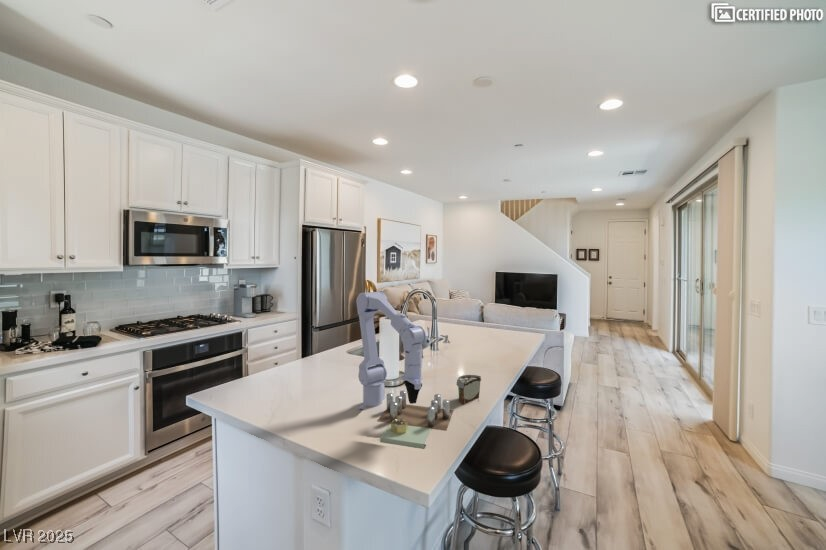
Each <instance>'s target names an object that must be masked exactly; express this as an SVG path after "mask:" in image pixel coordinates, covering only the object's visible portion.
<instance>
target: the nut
mask: <svg viewBox="0 0 826 550" xmlns="http://www.w3.org/2000/svg"><path fill="white" fill-rule="evenodd" d="M407 430H408V421H406V420H404V419H402V418H401V419H394V420H393V421H392V423H391V432H393V433H395V434H403V433H406V432H407Z"/></svg>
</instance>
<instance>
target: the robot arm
mask: <svg viewBox="0 0 826 550" xmlns="http://www.w3.org/2000/svg"><path fill="white" fill-rule="evenodd" d="M355 300H356V301H355V302H356V309H357V315H358V319H359V326H360V333H361V334H360V335H361V341H362V342H361V343H362V351H363V360H362V361H361V363H359V365H358V377H357V378H358V381H359V382H360V384H361V385H362V389H363V390H362V393H363V394H362V404H361V405H360V406H359V407H358V409H359V410H365V408H367V407H371V408H372V407H378V406H380V405H382V404H383V401H384V400H385V392H386V391H385V388H386V387H385V383H384V381H385V380H386V379H387V375H388V372H387V368H386V367H385V362H384V360H383V359H381V358H380V357H379V353H378V347H377V338H376V330H375V323H374V316H375V315H376V314H377V312H379V311H380V312H381V313H382V314H383V315H384V316H386V317H387V319H388V320H390V326H391V327H392V328H393V329H394V330H395V331H396V332H397V333H398V334H399V335H400V339H401V342H402V347H403V351H404V374H403V375H401V376H400V380H403V384H404V386H405V389H406V395H407V398H408V402H409V405H413V404H416V403H417V401H418V397H419V392H420V390H422V387H423V383H422V380H423V375H422V358H423V356H422V355H423V351H422V350H423V348H422V347H423V343H424V342H425V340H426V337H427V336H426V335H427V334H426V332H425V329H424V328H423V327H422V325H421V326H420V325H416V324H414V323H413V322H412V321H411V320H410V319H409V318H408V317H407V315H406V314H405V313H401V312H400V313H398V311H397V310H396V309H395V308H394V307H393V305H392V304H391V303H390V302H389V301H388V296H387V295H386V294H385V293H384V292H383V291H382V290H381V291H372V292H371V291H370V292H360V293H359V294H358V295H357V298H356V299H355Z"/></svg>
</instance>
